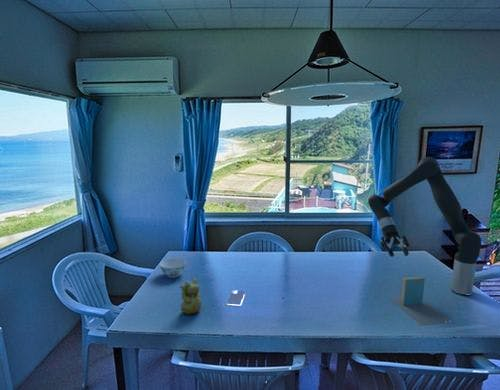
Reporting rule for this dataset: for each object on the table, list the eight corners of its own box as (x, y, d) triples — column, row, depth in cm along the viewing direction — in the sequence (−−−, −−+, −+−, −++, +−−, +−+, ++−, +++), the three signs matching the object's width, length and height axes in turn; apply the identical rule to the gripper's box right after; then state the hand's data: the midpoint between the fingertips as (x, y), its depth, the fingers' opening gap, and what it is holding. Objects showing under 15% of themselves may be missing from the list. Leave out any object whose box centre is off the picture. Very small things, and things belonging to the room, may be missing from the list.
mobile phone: (225, 304, 147) (232, 289, 162) (225, 306, 147) (232, 291, 162) (240, 305, 146) (246, 290, 161) (241, 307, 146) (246, 292, 161)
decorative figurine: (194, 304, 148) (193, 274, 145) (206, 310, 143) (205, 279, 140) (178, 312, 141) (177, 282, 138) (190, 319, 135) (189, 287, 133)
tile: (400, 303, 148) (403, 278, 146) (419, 301, 150) (422, 276, 148) (403, 305, 146) (406, 279, 144) (422, 303, 148) (425, 278, 146)
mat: (389, 301, 152) (389, 299, 152) (419, 298, 155) (419, 297, 154) (421, 327, 131) (421, 325, 130) (454, 323, 133) (454, 322, 133)
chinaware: (189, 270, 187) (189, 258, 185) (182, 281, 172) (181, 268, 171) (165, 269, 188) (165, 257, 187) (156, 280, 174) (155, 267, 172)
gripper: (378, 224, 161) (390, 253, 152) (403, 223, 164) (416, 251, 154) (372, 231, 167) (383, 259, 158) (396, 230, 170) (408, 258, 160)
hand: (399, 255), depth 156 cm, fingers open, 7 cm apart
